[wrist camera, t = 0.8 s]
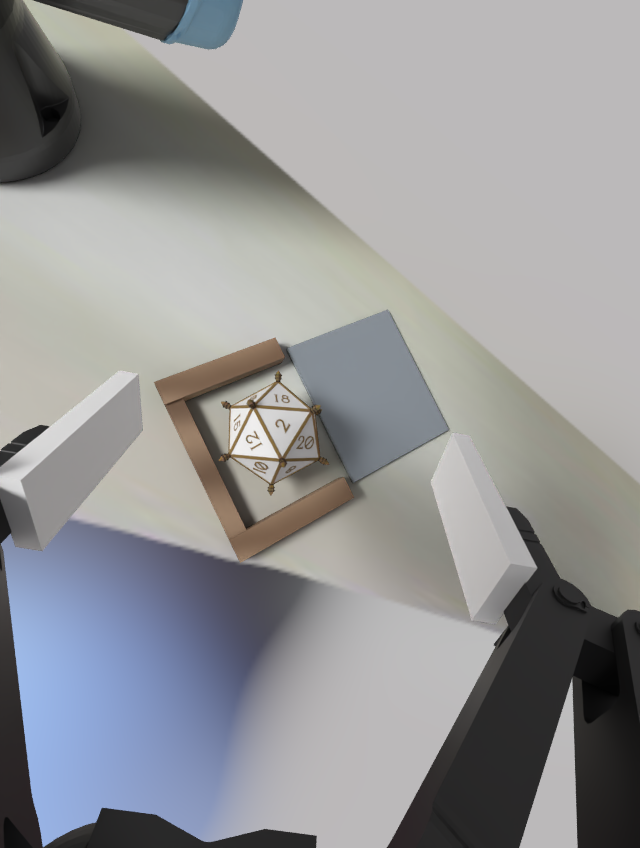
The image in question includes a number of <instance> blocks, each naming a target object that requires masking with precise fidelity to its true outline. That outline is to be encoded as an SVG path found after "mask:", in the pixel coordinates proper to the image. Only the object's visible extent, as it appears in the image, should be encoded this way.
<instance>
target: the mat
mask: <svg viewBox="0 0 640 848" xmlns="http://www.w3.org/2000/svg"><path fill="white" fill-rule="evenodd" d="M287 352H288V354H289V356H290V358H291V360H292V362H293V364H294V366H295V368H296V370H297V372H298V374H299V376H300V378H301V380H302V382H303V384H304V386H305V388H306V390H307V392H308V394H309V396H310V398H311V400H312V402H313V404H314V405H321V407H320V409H322V411H321V414H318V415H319V417H320V419H321V421H322V423H323V425H324V427H325V429H326V431H327V433H328V435H329V437H330V439H331V441H332V443H333V445H334V447H335V449H336V451H337V453H338V455H339V457H340V459H341V461H342V463H343V465H344V467H345V469H346V471H347V473H348V475H349V477H350V479H351V481H352V483H354V482H356V481H357V480H359V479H361V478H363V477H365V476H366V475H368V474H370V473H372V472H374V471H375V470H377V469H379V468H381V467H383V466H384V465H386V464H388V463H390V462H392V461H393V460H395V459H397V458H399V457H400V456H402V455H404V454H406V453H408V452H409V451H411V450H413V449H415V448H417V447H418V446H420V445H422V444H424V443H426V442H427V441H429V440H431V439H433V438H434V437H436V436H438V435H440V434H442V433H443V432H445V431H447V430H449V429H448V427H447V425H446V423H445V421H444V419H443V417H442V415H441V413H440V411H439V409H438V407H437V405H436V403H435V401H434V399H433V397H432V395H431V393H430V391H429V389H428V387H427V386H426V384H425V382H424V380H423V378H422V376H421V374H420V372H419V370H418V368H417V366H416V364H415V362H414V360H413V358H412V356H411V354H410V352H409V350H408V348H407V346H406V344H405V342H404V340H403V338H402V336H401V334H400V332H399V330H398V328H397V327H396V325H395V323H394V321H393V319H392V317H391V315H390V313H389V311H388V310H385V311H383V312H380V313H378V314H375V315H372V316H370V317H367V318H365V319H362V320H359V321H357V322H354V323H352V324H349V325H346V326H344V327H341V328H339V329H336V330H333V331H331V332H328V333H325V334H323V335H320V336H318V337H315V338H312V339H310V340H307V341H305V342H302V343H299V344H297V345H294V346H292V347H289V348H287Z"/></svg>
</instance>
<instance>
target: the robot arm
mask: <svg viewBox="0 0 640 848" xmlns="http://www.w3.org/2000/svg"><path fill="white" fill-rule="evenodd" d="M34 1H37V2H40V3H43V4H47V5H50V6H53V7H56V8H59V9H63V10H66V11H69V12H72V13H75V14H79V15H82V16H85V17H88V18H91V19H95V20H98V21H101V22H104V23H107V24H111V25H114V26H117V27H120V28H123V29H127V30H130V31H133V32H136V33H140V34H143V35H146V36H149V37H152V38H156V39H159V40H160V41H161V42H163V43H167V44H173V43H175V42H176V43H181V44H186V45H190V46H195V47H200V48H204V49H216V48H218V47H221V46H222V45H224V44H225V43H226V42H227V41H228V40H229V38H230V37H231V35H232V33H233V31H234V29H235V26H236V23H237V21H238V17H239V14H240V10H241V6H242V3H243V0H34ZM80 126H81V114H80V108H79V104H78V100H77V97H76V94H75V91H74V87H73V84H72V81H71V78H70V76H69V74H68V71H67V69H66V67H65V65H64V63H63V61H62V60H61V58H60V57H59V55H58V54H57V52H56V51H55V49H54V47H53V46H52V44H51V43H50V41H49V40H48V38H47V37H46V35H45V34H44V32H43V31H42V29H41V28H40V26H39V24H38V23H37V21H36V20H35V18H34V17H33V15H32V14H31V12H30V11H29V9H28V8H27V6H26V5H25V3H24V1H23V0H0V182H9V181H16V180H21V179H25V178H29V177H32V176H35V175H38V174H40V173H42V172H44V171H46V170H48V169H50V168H52V167H53V166H55V165H56V164H58V163H59V162H60V161H61V160H62V159H64V158H65V157H66V156H67V154H68V153H69V152H70V151H71V149H72V148H73V146H74V144H75V142H76V140H77V138H78V135H79V131H80ZM142 431H143V425H142V412H141V399H140V386H139V374H136V373H131V372H126V371H120V370H119V371H118V372H117V373H116V374H114V375H113V376H112V377H111V378H109V379H108V380H107V381H106V382H104V383H103V384H102V385H101V386H100V387H98V388H97V389H96V390H95V391H93V392H92V393H91V394H90V395H88V396H87V397H86V398H85V399H83V400H82V401H81V402H80V403H79V404H77V405H76V406H75V407H74V408H72V409H71V410H70V411H69V412H67V413H66V414H65V415H64V416H62V417H61V418H60V419H59V420H58V421H56V422H55V423H54V424H53V425H51V426H50V427H49V426H44V425H39V426H37V427H35V428H32V429H30V430H27V431H25V432H23V433H22V434H20V435H19V436H18V437H16V438H15V439H14V440H13V441H11V444H7V445H6V446H5V447H3V448H2V449H1V451H0V848H316V837H317V836H313V835H306V834H299V833H290V832H283V831H276V830H268V829H263V830H259V831H255V832H251V833H247V834H243V835H239V836H235V837H230V838H226V839H222V840H218V841H214V842H204V841H201V840H199V839H198V838H196V837H194V836H192V835H191V834H189V833H187V832H185V831H184V830H182V829H180V828H178V827H176V826H175V825H173V824H171V823H169V822H168V821H166V820H164V819H162V818H161V817H159V816H157V815H153V814H146V813H138V812H130V811H123V810H114V809H108V808H102V809H101V812H100V814H99V817H98V820H97V822H96V823H92V824H88V825H85V826H82V827H80V828H77V829H74V830H72V831H70V832H68V833H66V834H65V835H63V836H61V837H59V838H57V839H55V840H54V841H52V842H51V843H49V844H48V845H46V846H45V847H43V846H42V839H41V832H40V827H39V822H38V817H37V814H36V810H35V807H34V803H33V798H32V793H31V786H30V777H29V769H28V760H27V752H26V744H25V734H24V726H23V717H22V709H21V700H20V691H19V683H18V674H17V666H16V657H15V649H14V640H13V631H12V623H11V614H10V606H9V597H8V588H7V580H6V571H5V562H4V554H3V549H2V547H1V543H2V542H3V541H4V540H5V539H6V538H7V536H8V535H9V534H10V533H11V535H12V538H13V541H14V544H15V547H20V548H26V549H32V550H38V551H43V549H44V548H45V547H46V546H47V545H48V543H49V542H50V541H51V540H52V539H53V537H54V536H55V535H56V534H57V533H58V531H59V530H60V529H61V528H62V527H63V525H64V524H65V523H66V522H67V521H68V519H69V518H70V517H71V516H72V515H73V513H74V512H75V511H76V510H77V509H78V507H79V506H80V505H81V504H82V503H83V501H84V500H85V499H86V498H87V497H88V495H89V494H90V493H91V492H92V491H93V489H94V488H95V487H96V486H97V485H98V483H99V482H100V481H101V480H102V479H103V477H104V476H105V475H106V474H107V473H108V471H109V470H110V469H111V468H112V467H113V465H114V464H115V463H116V462H117V461H118V459H119V458H120V457H121V456H122V455H123V453H124V452H125V451H126V450H127V449H128V447H129V446H130V445H131V444H132V443H133V441H134V440H135V439H136V438H137V437H138V435H139V434H140V433H141V432H142ZM431 484H432V488H433V491H434V494H435V498H436V501H437V505H438V508H439V511H440V515H441V518H442V522H443V525H444V528H445V532H446V535H447V539H448V542H449V545H450V549H451V552H452V555H453V559H454V562H455V566H456V569H457V572H458V576H459V579H460V583H461V586H462V589H463V593H464V596H465V600H466V603H467V606H468V610H469V613H470V617H471V620H472V621H477V622H483V623H490V624H496V623H497V622H498V620H499V619H500V618H501V616H502V615H503V614H505V617H506V620H507V622H508V625H509V626H508V627H507V628H506V629H505V631H504V632H503V633H502V635H501V636H500V637H499V638H498V640H497V641H496V642H495V643H494V646H496V647H495V649H494V651H493V653H492V655H491V657H490V658H489V660H488V662H487V664H486V666H485V668H484V670H483V671H482V673H481V675H480V677H479V679H478V681H477V682H476V684H475V686H474V688H473V690H472V692H471V694H470V695H469V697H468V699H467V701H466V703H465V705H464V707H463V708H462V710H461V712H460V714H459V716H458V718H457V720H456V722H455V723H454V725H453V727H452V729H451V731H450V733H449V734H448V736H447V738H446V740H445V742H444V744H443V746H442V747H441V749H440V751H439V753H438V755H437V757H436V759H435V760H434V762H433V764H432V766H431V768H430V770H429V772H428V774H427V775H426V777H425V779H424V781H423V783H422V785H421V786H420V789H419V790H418V792H417V794H416V796H415V798H414V800H413V802H412V803H411V805H410V807H409V809H408V811H407V813H406V814H405V816H404V818H403V820H402V822H401V824H400V825H399V827H398V829H397V831H396V833H395V835H394V837H393V839H392V840H391V842H390V844H389V845H388V847H387V848H519V846H520V843H521V840H522V837H523V833H524V830H525V827H526V824H527V820H528V817H529V814H530V811H531V808H532V805H533V801H534V798H535V795H536V792H537V788H538V785H539V782H540V779H541V775H542V772H543V769H544V766H545V763H546V760H547V756H548V753H549V750H550V747H551V744H552V740H553V737H554V734H555V731H556V728H557V725H558V721H559V718H560V715H561V712H562V709H563V705H564V702H565V699H566V695H567V692H568V689H569V686H570V683H571V679H573V712H574V743H575V775H576V803H577V804H576V807H577V839H578V848H640V612H639V611H637V610H627V611H625V612H624V613H623V614H622V615H621V616H620V617H618V618H617V617H615V616H613V615H610V614H608V613H606V612H603V611H601V610H599V609H596V608H594V607H592V606H591V605H590V603H589V601H588V599H587V598H586V597H585V595H584V594H583V593H582V592H581V591H580V590H579V589H578V588H576V587H575V586H574V585H573V584H571V583H569V582H567V581H565V580H563V579H560V577H559V575H558V573H557V572H556V570H555V568H554V566H553V564H552V563H551V561H550V559H549V557H548V555H547V554H546V552H545V550H544V548H543V546H542V545H541V544H540V541H539V539H538V537H537V535H536V534H534V530H533V528H532V526H531V525H530V523H529V521H528V520H527V519H526V518H525V517H524V515H523V514H522V513H521V512H520V511H519V510H518V509H517V508H511V507H506V505H505V503H504V501H503V500H502V498H501V496H500V494H499V492H498V490H497V488H496V486H495V484H494V482H493V480H492V478H491V476H490V474H489V472H488V470H487V468H486V466H485V464H484V462H483V460H482V458H481V456H480V454H479V452H478V450H477V448H476V446H475V444H474V443H473V441H472V439H471V437H470V435H464V434H459V433H454V432H452V434H451V437H450V439H449V441H448V443H447V446H446V448H445V450H444V453H443V455H442V457H441V459H440V462H439V464H438V466H437V469H436V471H435V473H434V476H433V478H432V480H431Z"/></svg>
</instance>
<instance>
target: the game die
mask: <svg viewBox="0 0 640 848" xmlns="http://www.w3.org/2000/svg"><path fill="white" fill-rule="evenodd" d="M281 376H282V375H281V374H280V372H279V370H278V372H277V373H276V375H275V379H276V382H274V383H273V384H271V385H269V386H267V387H265V388H263V389H261V390H260V391H258V392H256V393H254V394H252V395H250V396H248V397H247V398H245V399H243V400H241V401H239V402H237V403H236V404H234V405H232V406H231V405H230V403H227V401H226V402H221V403H222V405H223V408H224V407H225V408H226V409H229V410H230V413H229V452H228V454H224V455H221V457H220V459H219V460H218V461H224V462H226V460H228V459H229V458H232V459H233V460H235V461H236V462H238V463H239V464H241V465H242V466H244V467H245V468H247V469H248V470H250V471H251V472H252V473H254V474H255V475H257V476H258V477H260V478H261V479H263V480H264V481H266V482H267V483H269V487H268V490H267V491H268V492H269V493H270V495H272V493H273V492H274V491H275V490H274V488H275V487H274V484H275V483H277V482H279V481H281V480H282V479H284V478H286V477H288V476H290V475H292V474H294V473H295V472H297V471H299V470H301V469H303V468H305V467H307V466H309V465H310V464H312V463H314V462H316V461H320V462H321V463H322V464H323V465H324V464H325V465H329V463H328V461H327V459H325V458H324V457H323V458H322V457H320V450H319V441H318V432H317V423H316V415H318V414H321V411H322V409H320V407H321V405H314V406H312V408H310V407H309V406H308V405H307V404H305V403H304V402H303V401H302V400H301V399H299V398H298V397H297V396H296V395H295V394H294V393H292V392H291V391H290V390H289V389H288V388H287V387H285V386H284V385H283V384H282V383H281V382H280V380H281V379H282V378H281Z"/></svg>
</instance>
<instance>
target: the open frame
mask: <svg viewBox="0 0 640 848" xmlns="http://www.w3.org/2000/svg"><path fill="white" fill-rule="evenodd" d="M284 358H285V356H284V354H283V352H282V350H281V348H280V346H279V344H278V342H277V340H276V338H273V339H270V340H267V341H265V342H262V343H259V344H256V345H254V346H251V347H248V348H246V349H243V350H240V351H237V352H235V353H232V354H229V355H227V356H224V357H221V358H218V359H216V360H213V361H210V362H208V363H205V364H202V365H199V366H197V367H194V368H191V369H189V370H186V371H183V372H180V373H178V374H175V375H172V376H169V377H167V378H164V379H161V380H159V381H156V382H154V383H155V386H156V388H157V390H158V392H159V394H160V396H161V398H162V400H163V403H164V405H165V407H166V409H167V411H168V413H169V415H170V417H171V419H172V421H173V423H174V426H175V428H176V430H177V432H178V434H179V436H180V438H181V440H182V442H183V444H184V447H185V449H186V451H187V453H188V455H189V457H190V459H191V461H192V463H193V465H194V467H195V470H196V472H197V474H198V476H199V478H200V480H201V482H202V484H203V486H204V488H205V490H206V493H207V495H208V497H209V499H210V501H211V503H212V505H213V507H214V509H215V511H216V513H217V516H218V518H219V520H220V522H221V524H222V526H223V528H224V530H225V532H226V534H227V537H228V539H229V541H230V543H231V545H232V547H233V549H234V551H235V553H236V555H237V557H238V560H239V561H240V563H241V562H243V561H244V560H246V559H248V558H250V557H251V556H253V555H255V554H257V553H258V552H260V551H262V550H263V549H265V548H267V547H269V546H270V545H272V544H274V543H276V542H277V541H279V540H281V539H283V538H284V537H286V536H288V535H290V534H291V533H293V532H295V531H297V530H298V529H300V528H302V527H303V526H305V525H307V524H309V523H310V522H312V521H314V520H316V519H317V518H319V517H321V516H323V515H324V514H326V513H328V512H330V511H331V510H333V509H335V508H337V507H338V506H340V505H342V504H344V503H345V502H347V501H349V500H350V499H352V498H354V496H353V494H352V492H351V490H350V488H349V486H348V484H347V482H346V480H345V478H344V477H341V478H337V479H336V480H334V481H332V482H330V483H328V484H326V485H325V486H323V487H321V488H319V489H317V490H315V491H314V492H312V493H310V494H308V495H306V496H304V497H303V498H301V499H299V500H297V501H295V502H293V503H292V504H290V505H288V506H286V507H284V508H282V509H281V510H279V511H277V512H275V513H273V514H271V515H269V516H268V517H266V518H264V519H262V520H260V521H258V522H257V523H255V524H253V525H251V526H249V527H247V528H245V526H244V524H243V522H242V520H241V518H240V516H239V514H238V512H237V510H236V507H235V505H234V503H233V501H232V499H231V497H230V495H229V493H228V491H227V489H226V487H225V485H224V482H223V480H222V478H221V476H220V474H219V472H218V470H217V468H216V466H215V464H214V462H213V460H212V457H211V455H210V453H209V451H208V449H207V447H206V445H205V443H204V441H203V439H202V437H201V435H200V432H199V430H198V428H197V426H196V424H195V422H194V420H193V418H192V416H191V414H190V412H189V410H188V407H187V405H186V403H185V401H186V400H189V399H192V398H194V397H197V396H199V395H202V394H204V393H207V392H209V391H212V390H214V389H217V388H219V387H222V386H224V385H227V384H229V383H232V382H234V381H237V380H239V379H242V378H245V377H247V376H250V375H252V374H255V373H257V372H260V371H262V370H265V369H267V368H270V367H272V366H275V365H277V364H280V363H282V361H283V360H284Z"/></svg>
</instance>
